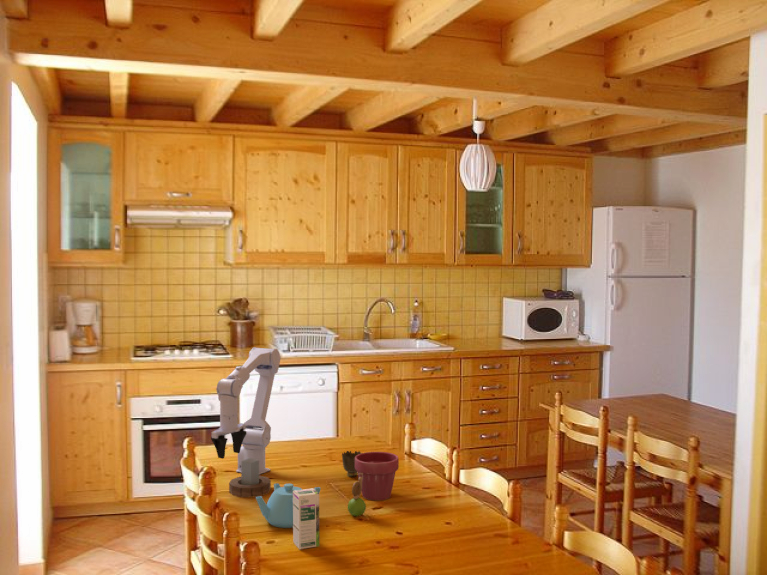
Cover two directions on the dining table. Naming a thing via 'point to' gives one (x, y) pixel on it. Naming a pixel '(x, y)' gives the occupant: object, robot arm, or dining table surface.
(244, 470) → the slate peg
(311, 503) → the syrup box
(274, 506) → the teapot
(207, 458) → the dining table surface
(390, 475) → the plant pot
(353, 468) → the cup
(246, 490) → the walnut ring
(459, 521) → the dining table surface
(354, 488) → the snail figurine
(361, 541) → the dining table surface
